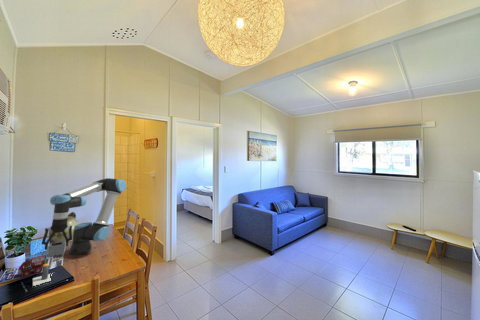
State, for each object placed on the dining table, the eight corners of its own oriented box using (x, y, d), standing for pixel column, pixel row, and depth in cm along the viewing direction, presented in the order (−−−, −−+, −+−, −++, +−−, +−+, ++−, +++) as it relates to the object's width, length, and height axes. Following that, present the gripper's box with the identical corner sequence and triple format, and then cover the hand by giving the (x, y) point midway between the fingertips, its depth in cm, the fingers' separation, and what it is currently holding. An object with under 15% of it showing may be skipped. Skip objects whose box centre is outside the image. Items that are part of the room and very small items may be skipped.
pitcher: (52, 247, 165) (56, 218, 166) (43, 241, 176) (46, 213, 178) (83, 240, 184) (87, 214, 186) (73, 235, 196) (76, 210, 197)
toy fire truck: (17, 274, 125) (19, 258, 126) (44, 268, 134) (46, 252, 135) (17, 279, 121) (19, 262, 121) (45, 272, 130) (46, 256, 130)
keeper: (32, 279, 121) (34, 263, 121) (54, 274, 128) (56, 259, 129) (32, 287, 114) (34, 270, 114) (56, 280, 121) (57, 264, 122)
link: (47, 252, 129) (48, 243, 129) (62, 250, 134) (63, 241, 135) (48, 256, 124) (49, 246, 124) (63, 253, 129) (65, 244, 130)
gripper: (39, 221, 121) (33, 258, 119) (80, 217, 136) (76, 250, 134) (38, 219, 126) (33, 254, 124) (78, 215, 141) (74, 247, 139)
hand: (55, 252), depth 129 cm, fingers closed on link, 7 cm apart
